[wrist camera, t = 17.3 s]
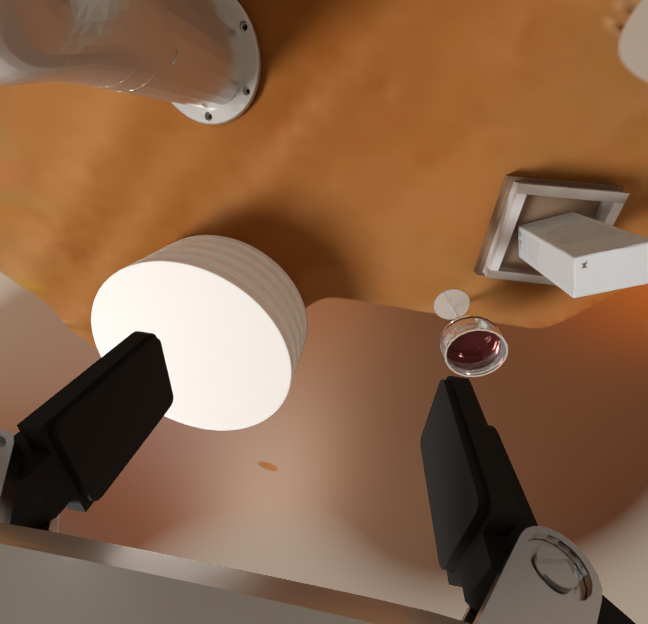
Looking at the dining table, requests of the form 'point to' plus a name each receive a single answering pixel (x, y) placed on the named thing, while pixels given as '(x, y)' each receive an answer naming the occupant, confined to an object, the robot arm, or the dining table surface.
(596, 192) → the square tray
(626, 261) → the skincare box
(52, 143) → the dining table surface
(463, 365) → the wineglass
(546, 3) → the dining table surface
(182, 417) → the plate stack
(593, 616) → the robot arm
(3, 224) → the dining table surface
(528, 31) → the dining table surface
